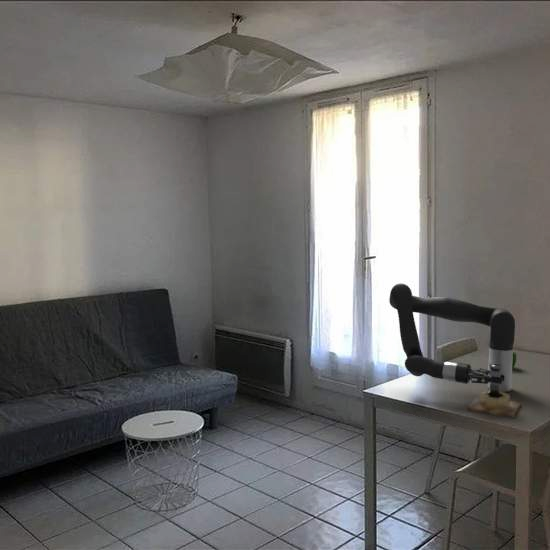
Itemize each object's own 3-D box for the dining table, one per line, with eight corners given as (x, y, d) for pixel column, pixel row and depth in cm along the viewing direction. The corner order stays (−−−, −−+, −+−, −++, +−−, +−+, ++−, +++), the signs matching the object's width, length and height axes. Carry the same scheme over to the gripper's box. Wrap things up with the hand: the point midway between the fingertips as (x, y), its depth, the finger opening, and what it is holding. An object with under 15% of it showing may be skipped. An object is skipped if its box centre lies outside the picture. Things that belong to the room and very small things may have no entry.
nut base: (467, 409, 221) (468, 396, 221) (477, 398, 235) (478, 386, 234) (513, 417, 213) (513, 404, 212) (520, 405, 226) (521, 392, 226)
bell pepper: (512, 366, 284) (513, 345, 283) (518, 370, 275) (519, 349, 274) (494, 365, 284) (495, 345, 283) (499, 370, 276) (500, 349, 275)
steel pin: (485, 394, 225) (486, 363, 224) (496, 394, 226) (498, 363, 225) (491, 398, 221) (493, 367, 219) (503, 398, 221) (505, 366, 220)
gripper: (452, 366, 224) (499, 374, 215) (461, 358, 236) (507, 365, 227) (451, 386, 225) (498, 394, 216) (461, 377, 237) (506, 384, 228)
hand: (502, 379), depth 221 cm, fingers closed on steel pin, 3 cm apart
